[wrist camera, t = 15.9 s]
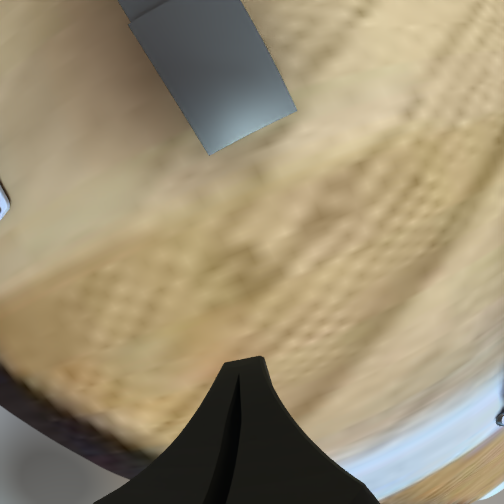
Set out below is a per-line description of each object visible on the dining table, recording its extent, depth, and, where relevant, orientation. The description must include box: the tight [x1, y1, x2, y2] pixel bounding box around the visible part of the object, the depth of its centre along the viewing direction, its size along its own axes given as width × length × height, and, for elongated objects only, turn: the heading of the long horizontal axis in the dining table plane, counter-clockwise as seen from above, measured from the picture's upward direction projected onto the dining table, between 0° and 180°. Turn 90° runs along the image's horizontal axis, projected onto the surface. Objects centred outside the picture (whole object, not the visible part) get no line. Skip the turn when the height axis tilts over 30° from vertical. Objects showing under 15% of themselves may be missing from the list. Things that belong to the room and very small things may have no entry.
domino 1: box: [128, 0, 297, 156], centre depth 14 cm, size 5×2×8 cm
